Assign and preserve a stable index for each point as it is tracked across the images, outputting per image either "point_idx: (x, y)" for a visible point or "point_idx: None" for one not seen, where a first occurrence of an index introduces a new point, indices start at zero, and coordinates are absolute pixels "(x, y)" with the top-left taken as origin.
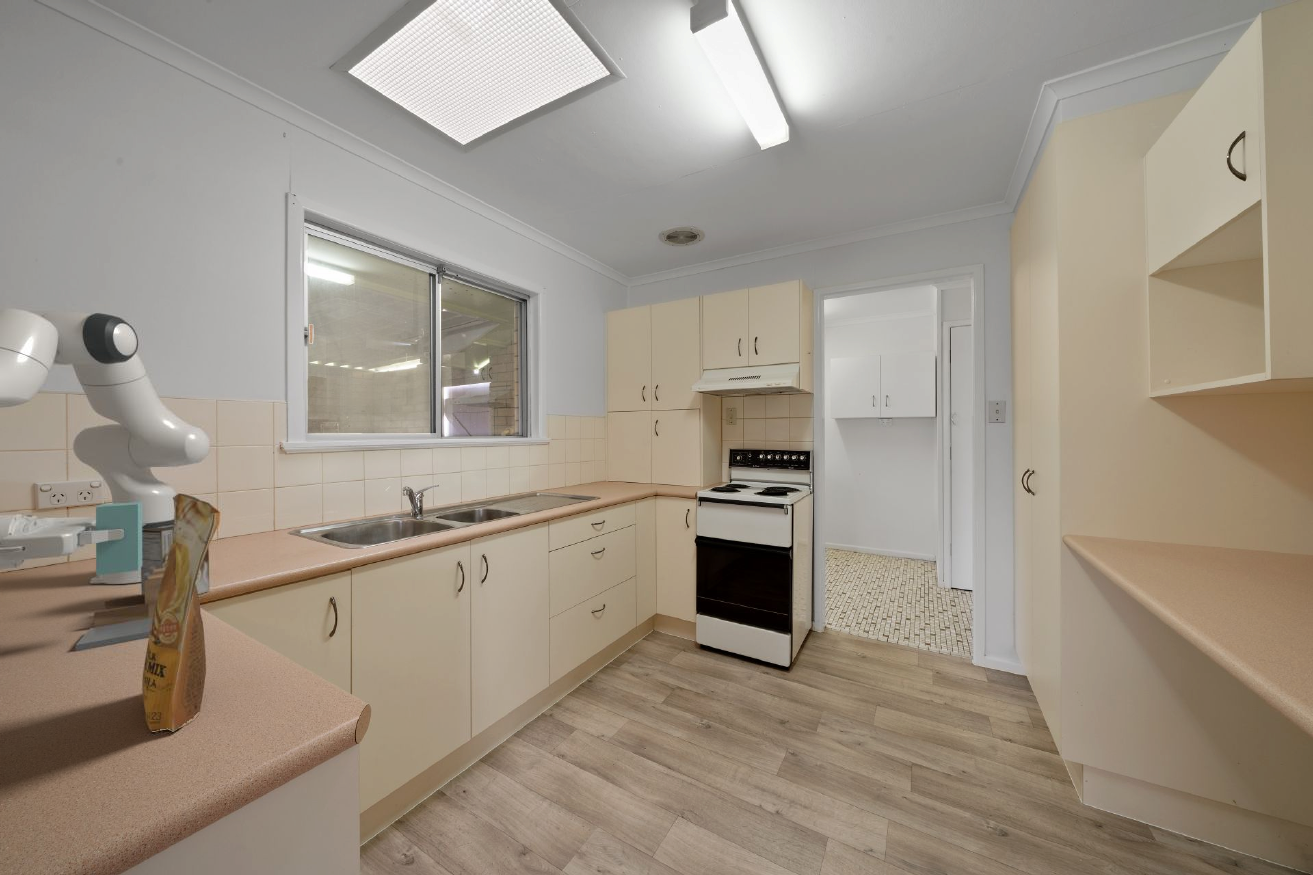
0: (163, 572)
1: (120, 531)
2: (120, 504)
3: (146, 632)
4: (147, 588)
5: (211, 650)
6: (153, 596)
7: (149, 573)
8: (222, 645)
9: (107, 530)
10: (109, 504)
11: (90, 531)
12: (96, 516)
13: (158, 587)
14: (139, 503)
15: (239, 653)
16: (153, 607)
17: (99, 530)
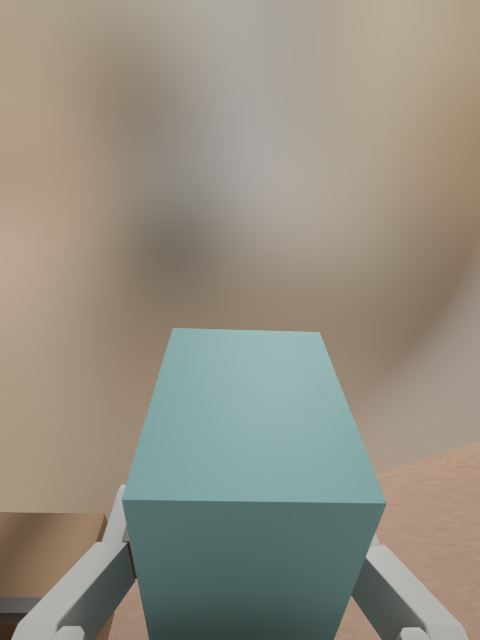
0: (5, 566)
1: None
2: (264, 387)
3: None
4: None
5: (444, 506)
6: None
7: (28, 599)
8: (421, 492)
9: (383, 546)
10: (199, 442)
11: (445, 638)
12: (360, 559)
13: None
14: (264, 331)
15: (470, 471)
16: (97, 637)
17: (393, 588)
